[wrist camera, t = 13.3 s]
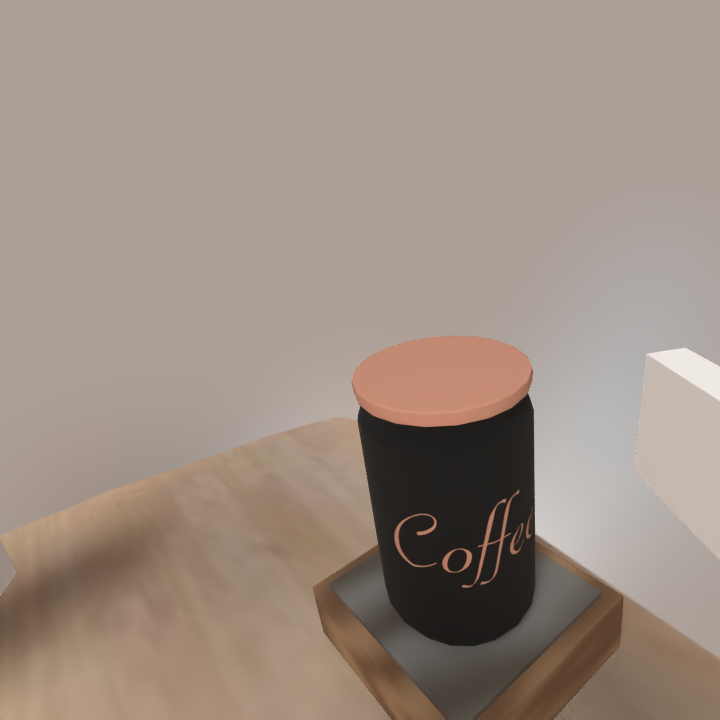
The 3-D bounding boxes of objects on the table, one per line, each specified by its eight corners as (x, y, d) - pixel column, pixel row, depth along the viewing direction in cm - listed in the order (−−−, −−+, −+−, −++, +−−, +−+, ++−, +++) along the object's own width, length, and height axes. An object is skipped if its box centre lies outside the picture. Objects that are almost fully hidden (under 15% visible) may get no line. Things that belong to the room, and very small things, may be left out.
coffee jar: (393, 665, 32) (351, 425, 25) (382, 545, 42) (350, 347, 35) (559, 645, 32) (563, 396, 25) (509, 528, 42) (502, 326, 35)
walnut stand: (323, 631, 42) (311, 583, 40) (460, 534, 50) (456, 489, 47) (466, 814, 29) (460, 758, 27) (619, 645, 37) (623, 592, 35)
